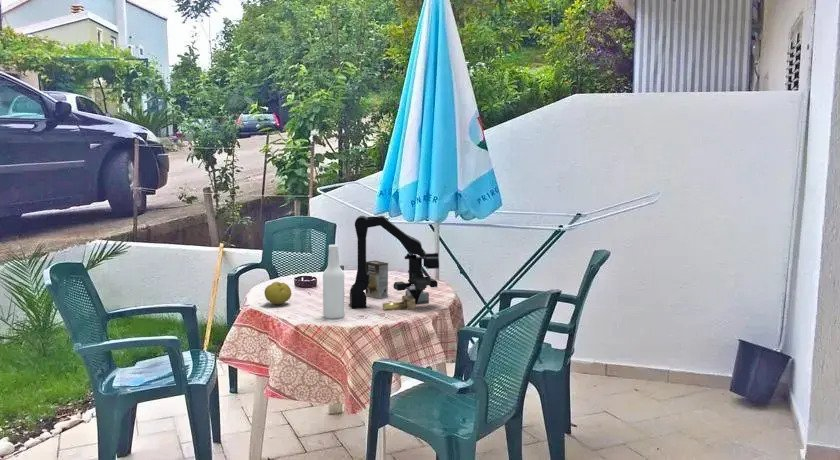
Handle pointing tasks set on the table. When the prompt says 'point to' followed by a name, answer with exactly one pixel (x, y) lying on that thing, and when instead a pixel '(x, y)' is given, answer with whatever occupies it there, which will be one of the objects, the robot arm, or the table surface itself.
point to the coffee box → (377, 279)
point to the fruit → (278, 293)
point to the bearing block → (409, 302)
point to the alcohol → (333, 286)
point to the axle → (393, 305)
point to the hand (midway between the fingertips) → (415, 303)
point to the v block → (421, 297)
